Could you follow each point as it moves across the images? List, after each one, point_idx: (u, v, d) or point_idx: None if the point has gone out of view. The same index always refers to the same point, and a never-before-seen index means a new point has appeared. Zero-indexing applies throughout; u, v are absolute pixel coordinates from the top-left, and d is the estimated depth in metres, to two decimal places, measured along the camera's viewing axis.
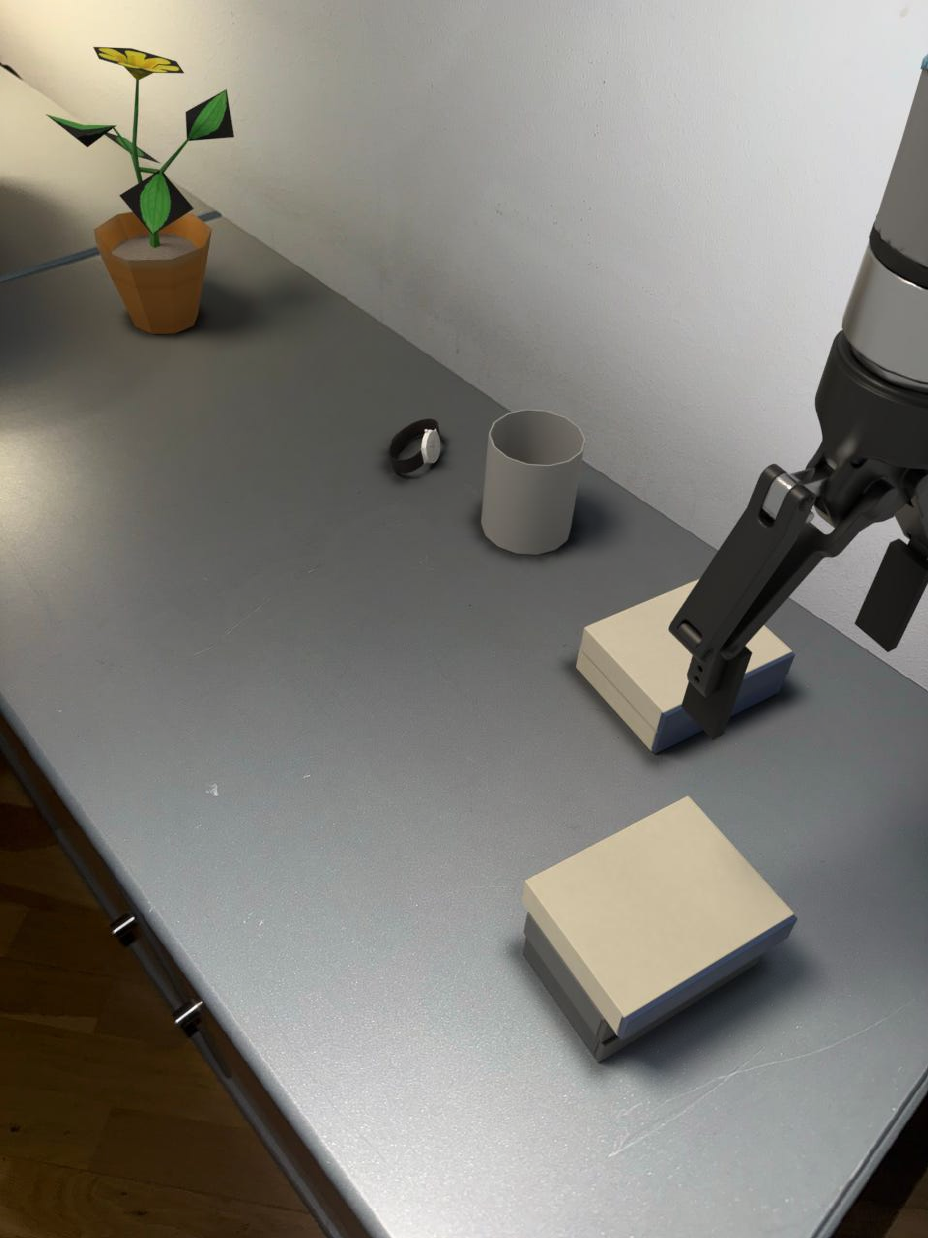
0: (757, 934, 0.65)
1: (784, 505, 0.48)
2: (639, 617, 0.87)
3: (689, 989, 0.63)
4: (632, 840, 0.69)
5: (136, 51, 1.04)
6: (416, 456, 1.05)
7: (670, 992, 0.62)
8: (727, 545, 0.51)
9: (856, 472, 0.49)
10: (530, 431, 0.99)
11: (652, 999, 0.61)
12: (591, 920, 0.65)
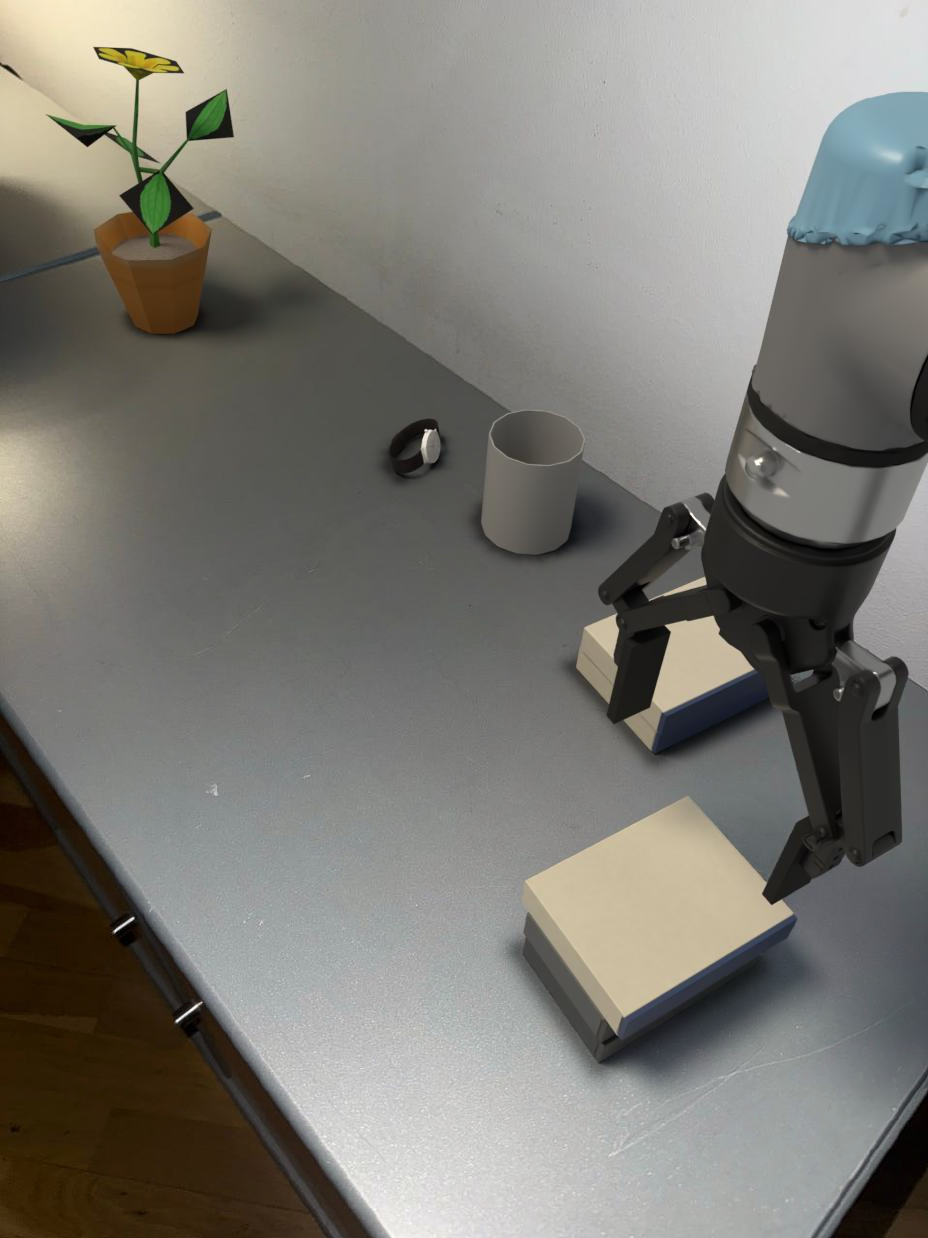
0: (757, 934, 0.65)
1: (896, 687, 0.46)
2: None
3: (689, 989, 0.63)
4: (632, 840, 0.69)
5: (136, 51, 1.04)
6: (416, 456, 1.05)
7: (670, 992, 0.62)
8: (864, 764, 0.47)
9: None
10: (530, 431, 0.99)
11: (652, 999, 0.61)
12: (591, 920, 0.65)
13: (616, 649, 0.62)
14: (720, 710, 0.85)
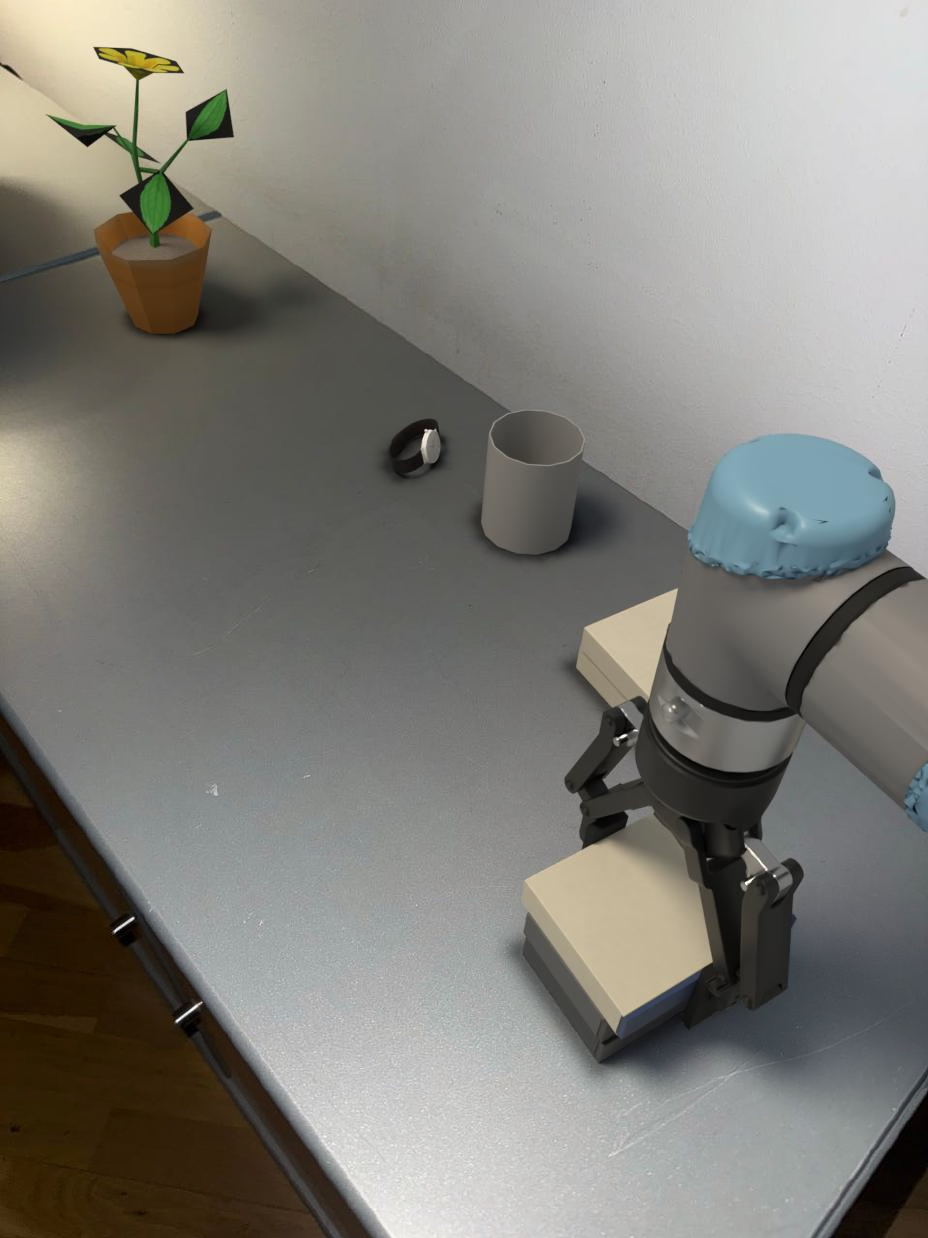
0: None
1: (792, 886, 0.55)
2: (639, 617, 0.87)
3: (688, 988, 0.63)
4: (631, 840, 0.69)
5: (136, 51, 1.04)
6: (416, 456, 1.05)
7: (669, 991, 0.62)
8: (761, 941, 0.56)
9: None
10: (530, 431, 0.99)
11: (651, 998, 0.62)
12: (590, 920, 0.65)
13: (581, 828, 0.70)
14: None
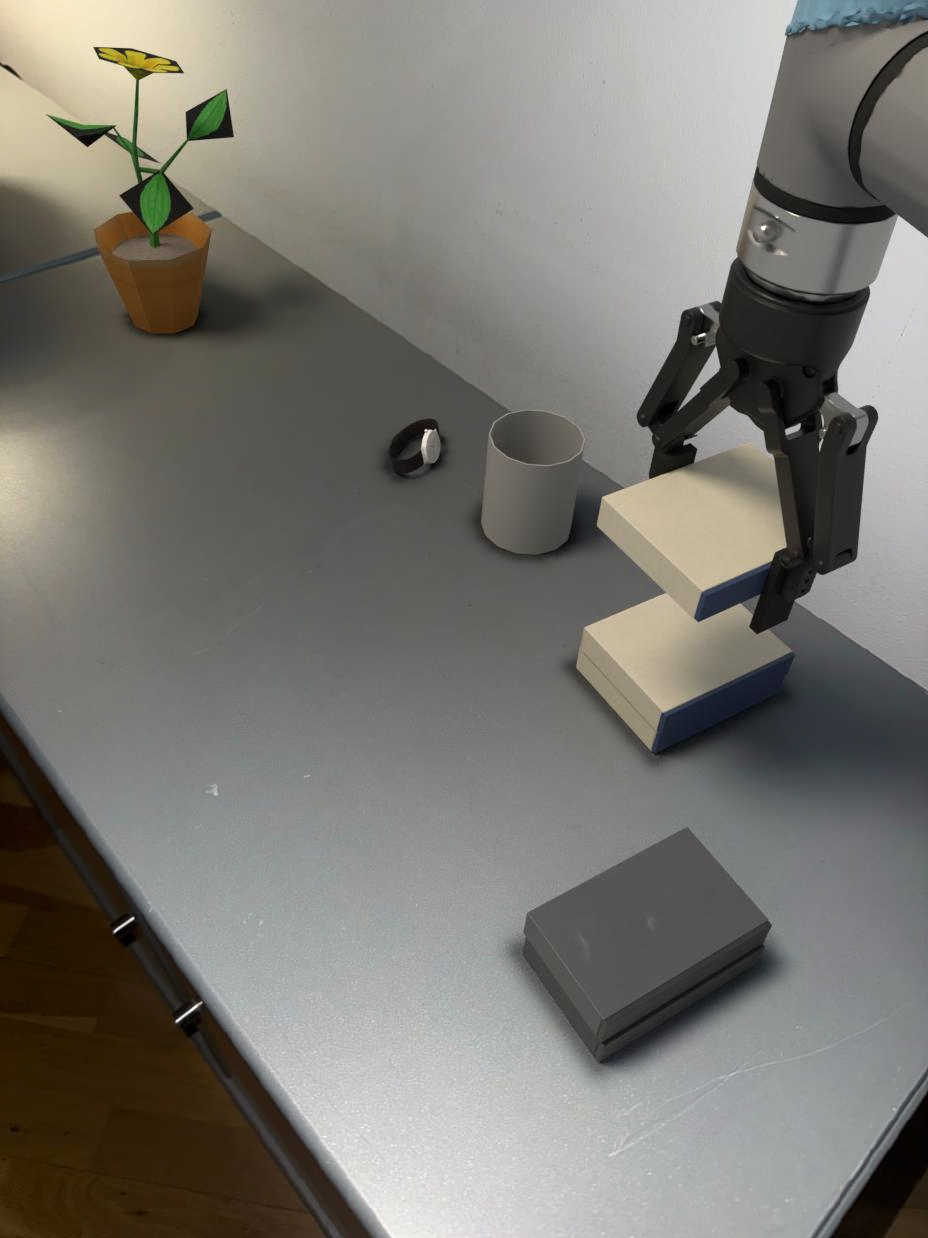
0: None
1: (867, 429, 0.59)
2: (639, 617, 0.87)
3: (760, 578, 0.67)
4: (699, 471, 0.73)
5: (136, 51, 1.04)
6: (416, 456, 1.05)
7: (744, 575, 0.66)
8: (836, 490, 0.61)
9: None
10: (530, 431, 0.99)
11: (727, 579, 0.66)
12: (666, 525, 0.69)
13: (651, 467, 0.75)
14: (720, 710, 0.85)
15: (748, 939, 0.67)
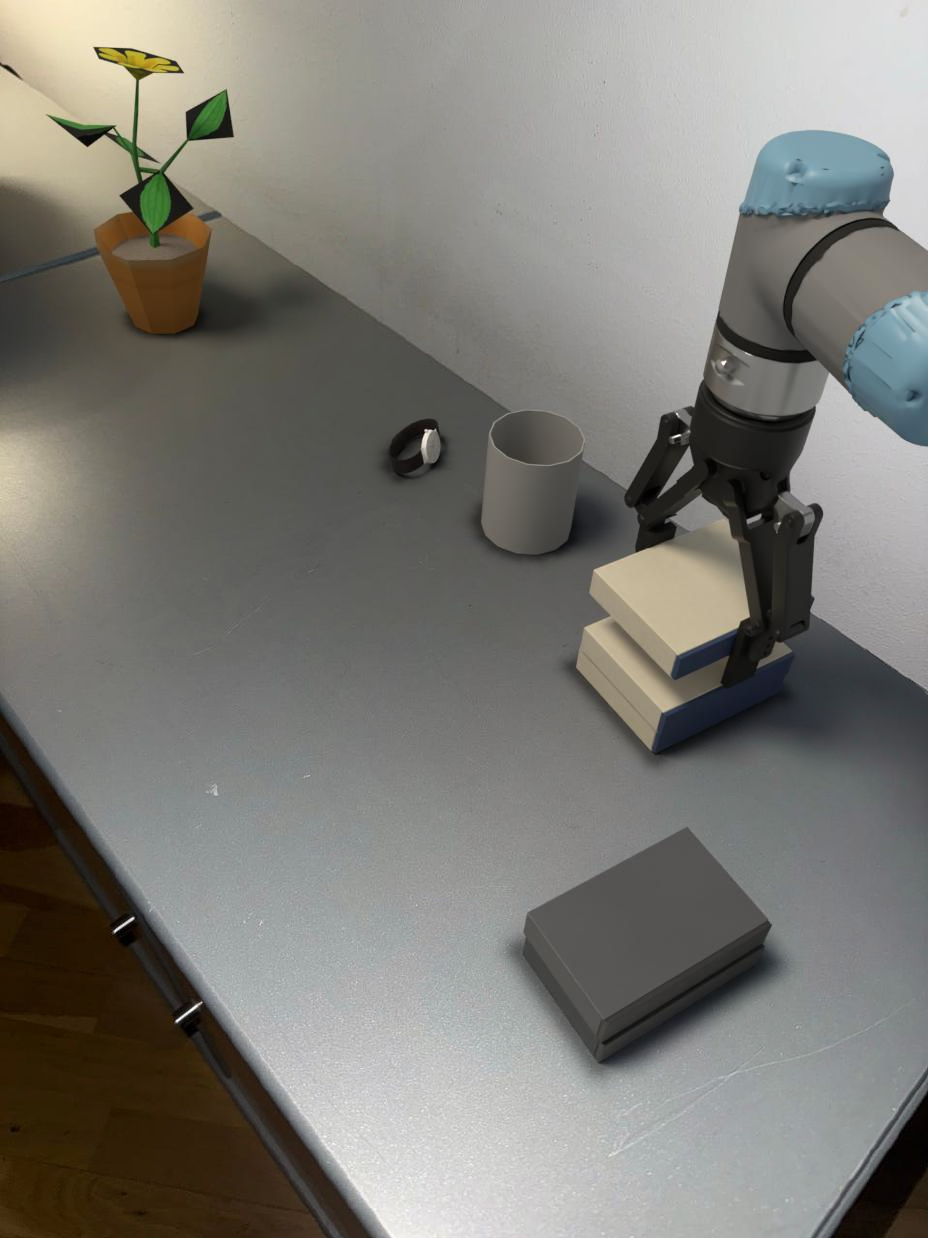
0: None
1: (814, 523, 0.70)
2: None
3: (728, 642, 0.78)
4: (679, 546, 0.84)
5: (136, 51, 1.04)
6: (416, 456, 1.05)
7: (713, 640, 0.77)
8: (789, 573, 0.72)
9: None
10: (530, 431, 0.99)
11: (699, 644, 0.77)
12: (648, 595, 0.80)
13: (637, 541, 0.86)
14: (720, 710, 0.85)
15: (748, 939, 0.67)
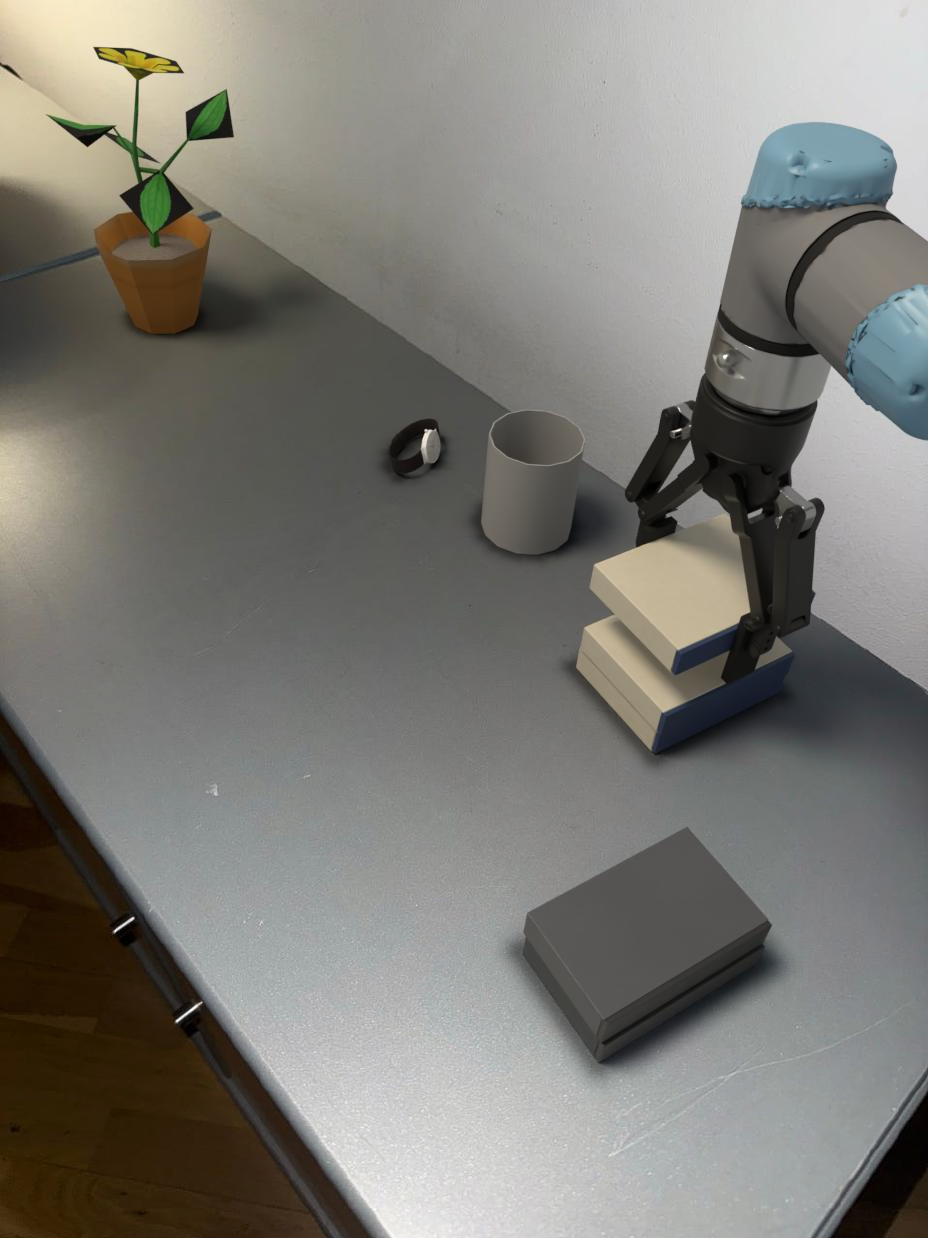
0: None
1: (816, 518, 0.70)
2: None
3: (729, 637, 0.78)
4: (679, 540, 0.84)
5: (136, 51, 1.04)
6: (416, 456, 1.05)
7: (714, 635, 0.77)
8: (790, 568, 0.71)
9: None
10: (530, 431, 0.99)
11: (700, 639, 0.77)
12: (649, 590, 0.80)
13: (638, 536, 0.86)
14: (720, 710, 0.85)
15: (748, 939, 0.67)
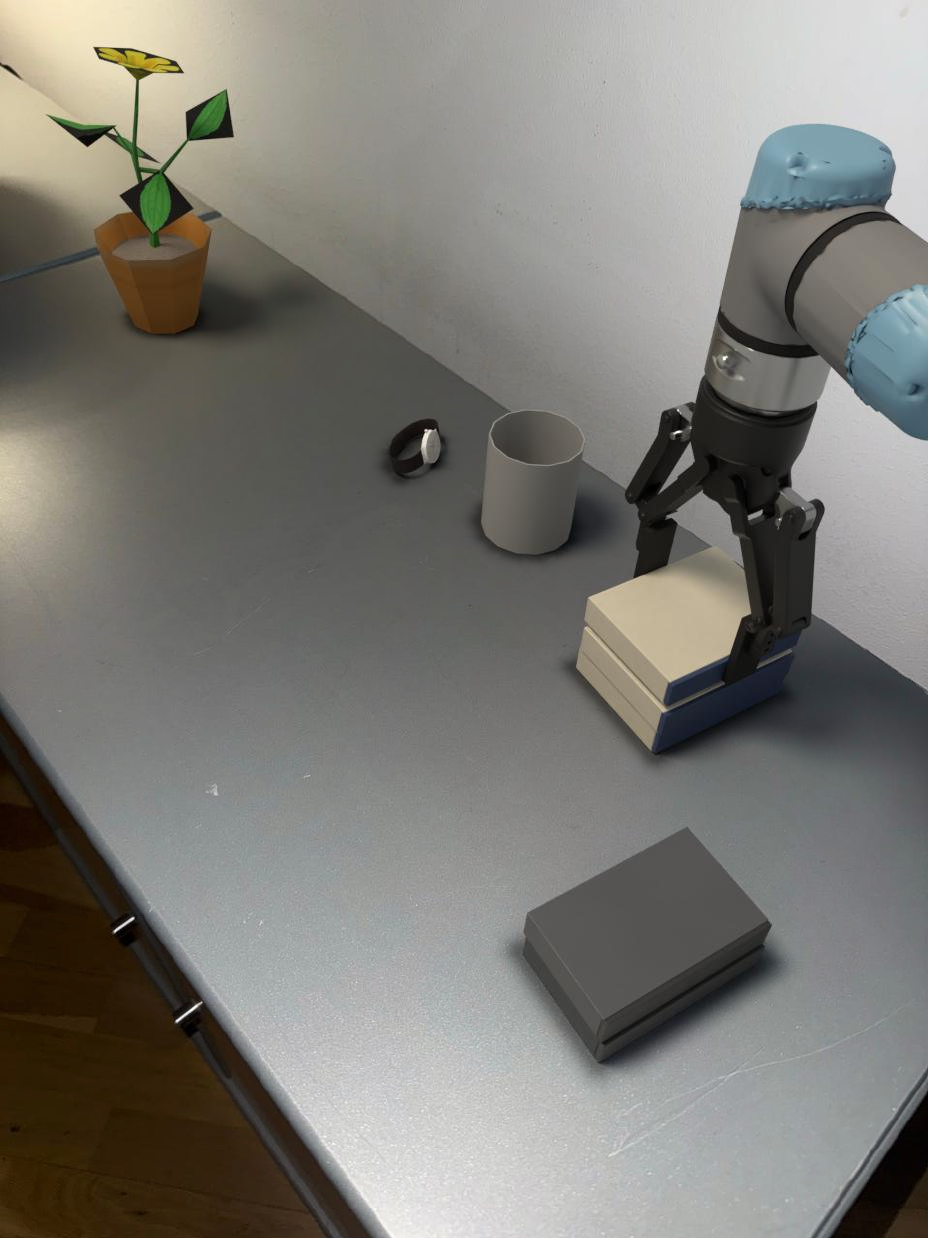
0: None
1: (816, 519, 0.70)
2: None
3: (719, 669, 0.80)
4: (671, 573, 0.86)
5: (136, 51, 1.04)
6: (416, 456, 1.05)
7: (705, 668, 0.79)
8: (791, 569, 0.71)
9: None
10: (530, 431, 0.99)
11: (691, 671, 0.79)
12: (641, 622, 0.82)
13: (638, 538, 0.86)
14: (720, 710, 0.85)
15: (748, 939, 0.67)
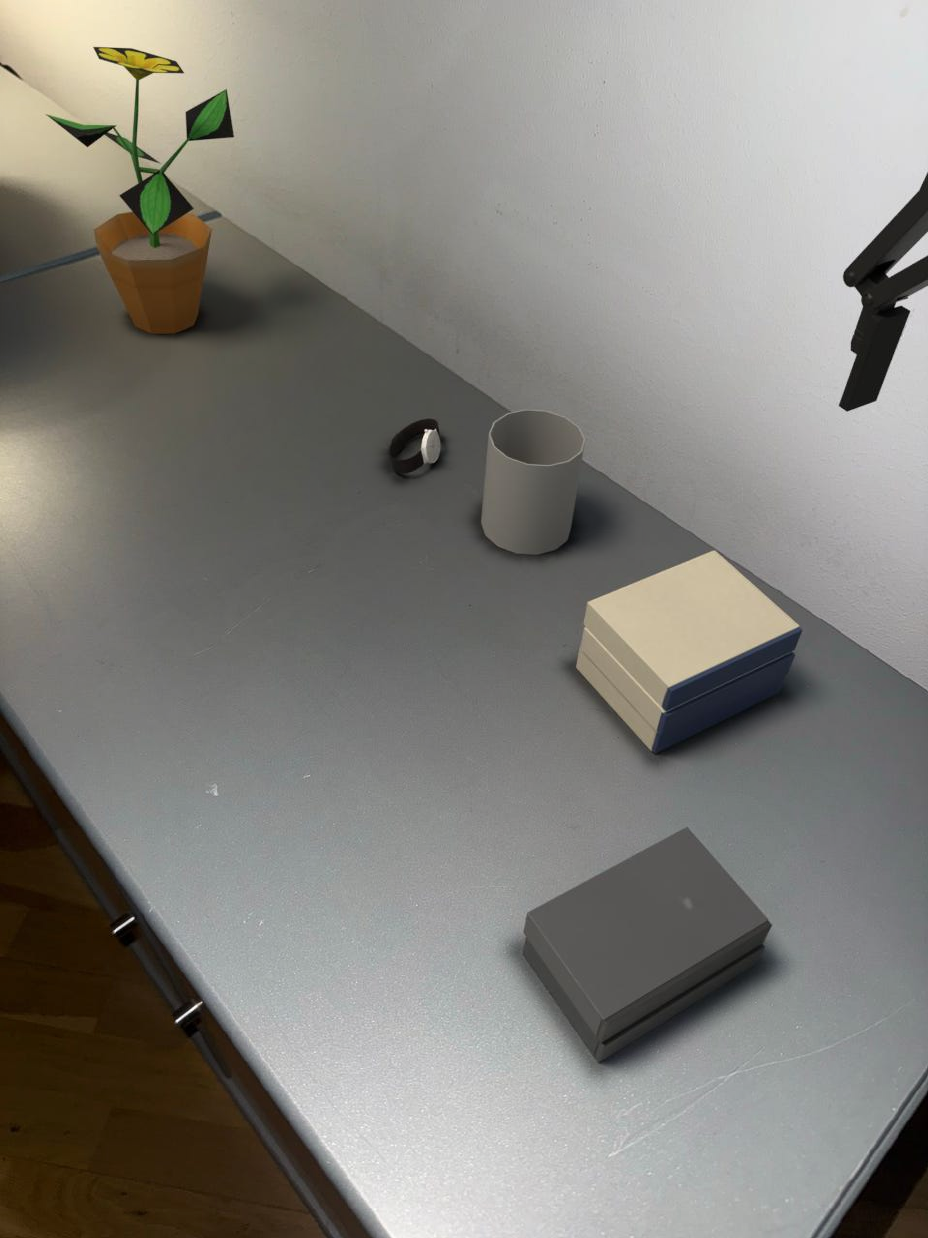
0: (771, 638, 0.83)
1: None
2: None
3: (718, 674, 0.81)
4: (670, 578, 0.87)
5: (136, 51, 1.04)
6: (416, 456, 1.05)
7: (704, 672, 0.80)
8: None
9: None
10: (530, 431, 0.99)
11: (690, 676, 0.79)
12: (640, 627, 0.82)
13: (855, 335, 0.68)
14: (720, 710, 0.85)
15: (748, 939, 0.67)
